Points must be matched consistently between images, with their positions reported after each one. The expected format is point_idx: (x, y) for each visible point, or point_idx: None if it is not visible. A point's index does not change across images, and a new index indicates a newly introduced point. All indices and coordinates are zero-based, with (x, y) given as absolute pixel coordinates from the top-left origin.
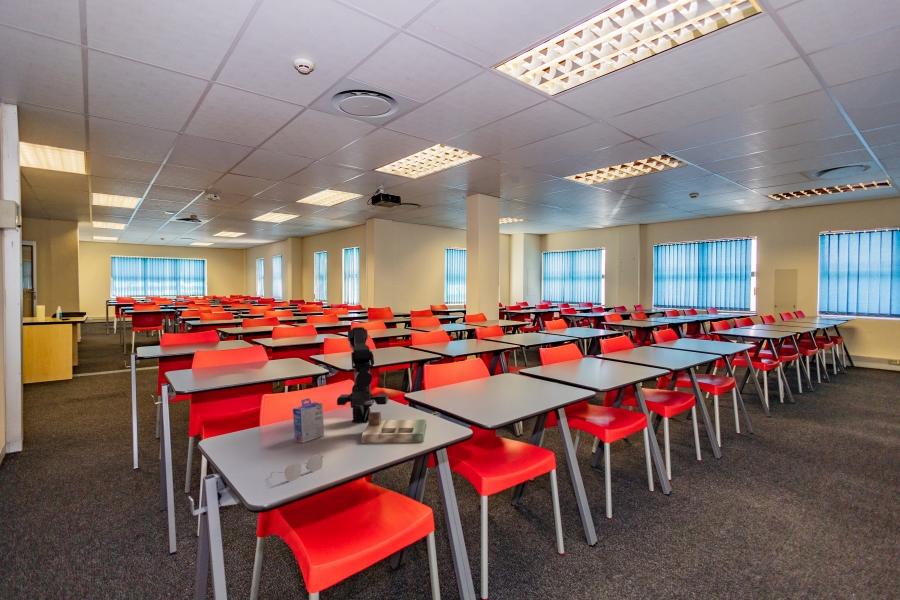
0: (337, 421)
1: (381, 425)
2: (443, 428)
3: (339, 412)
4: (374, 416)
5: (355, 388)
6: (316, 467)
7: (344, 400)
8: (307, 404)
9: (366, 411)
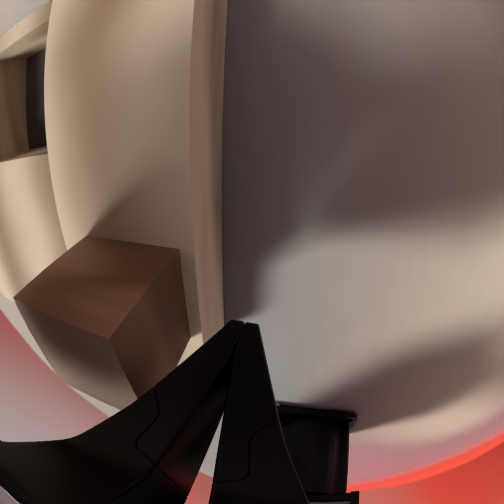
0: (420, 422)
1: (71, 233)
2: None
3: (386, 467)
4: (54, 300)
5: None
6: None
7: None
8: None
9: (121, 413)
